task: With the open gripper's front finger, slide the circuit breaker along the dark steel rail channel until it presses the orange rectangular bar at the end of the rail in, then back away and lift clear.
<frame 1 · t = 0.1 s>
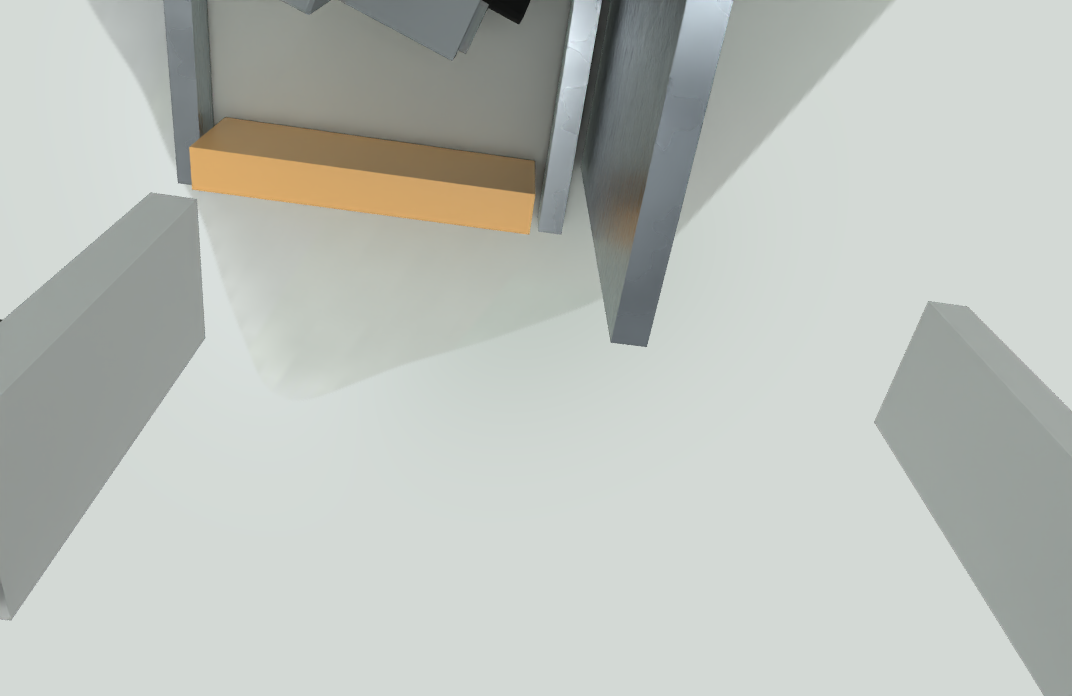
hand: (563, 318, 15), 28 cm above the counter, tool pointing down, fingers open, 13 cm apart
orange rectangular bar: (373, 174, 40), point 2 cm above the counter, slide at 0.0 cm
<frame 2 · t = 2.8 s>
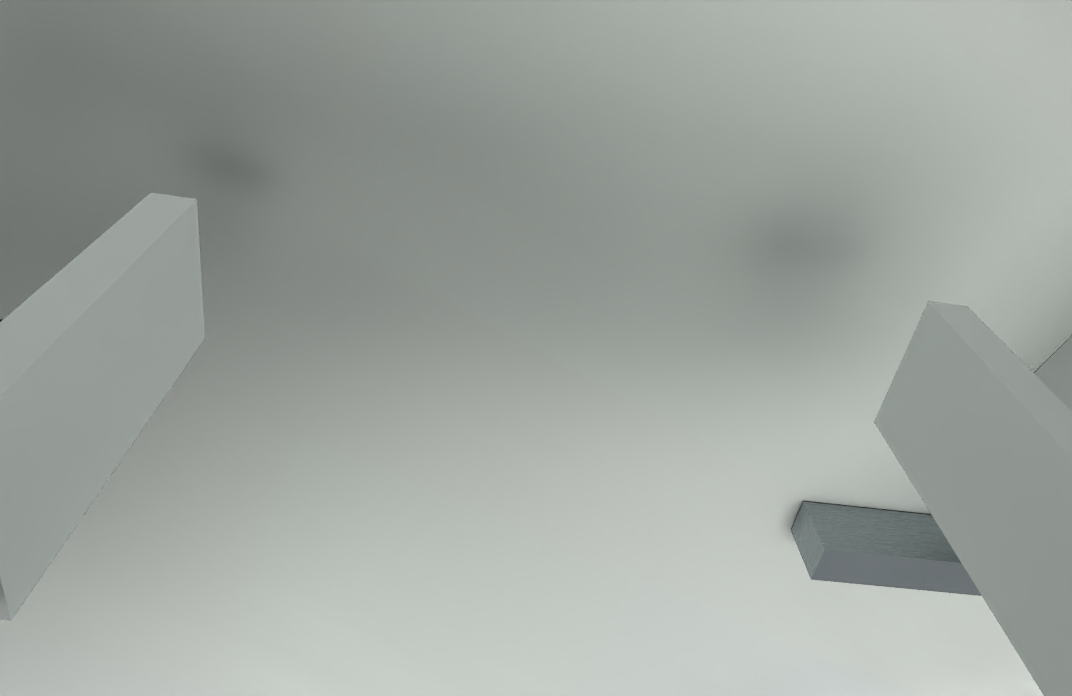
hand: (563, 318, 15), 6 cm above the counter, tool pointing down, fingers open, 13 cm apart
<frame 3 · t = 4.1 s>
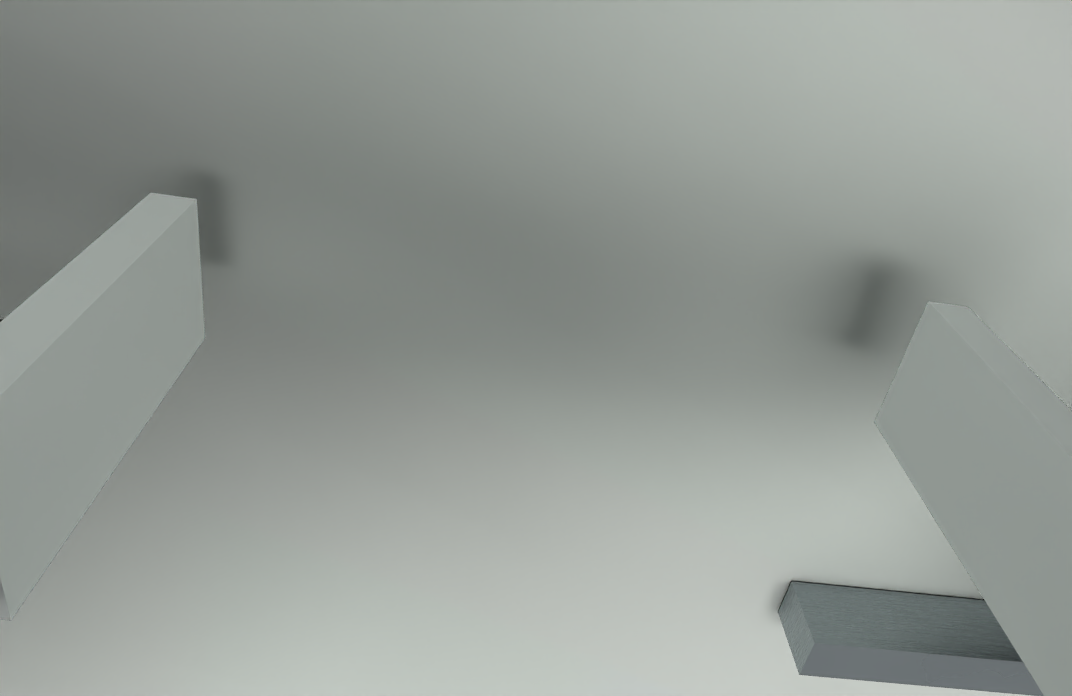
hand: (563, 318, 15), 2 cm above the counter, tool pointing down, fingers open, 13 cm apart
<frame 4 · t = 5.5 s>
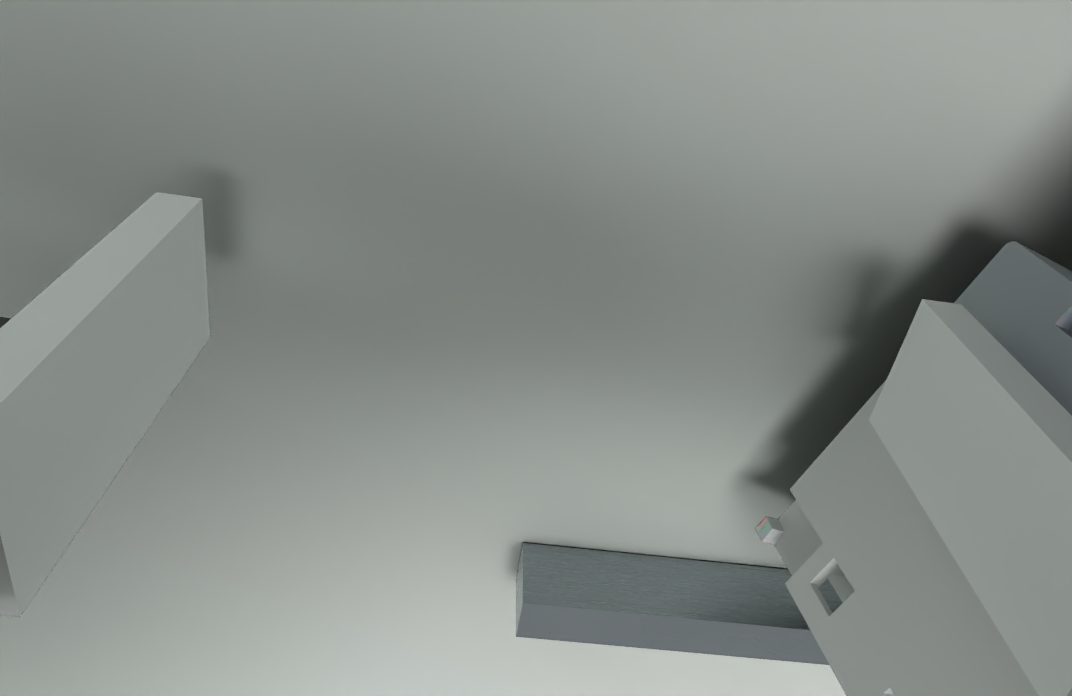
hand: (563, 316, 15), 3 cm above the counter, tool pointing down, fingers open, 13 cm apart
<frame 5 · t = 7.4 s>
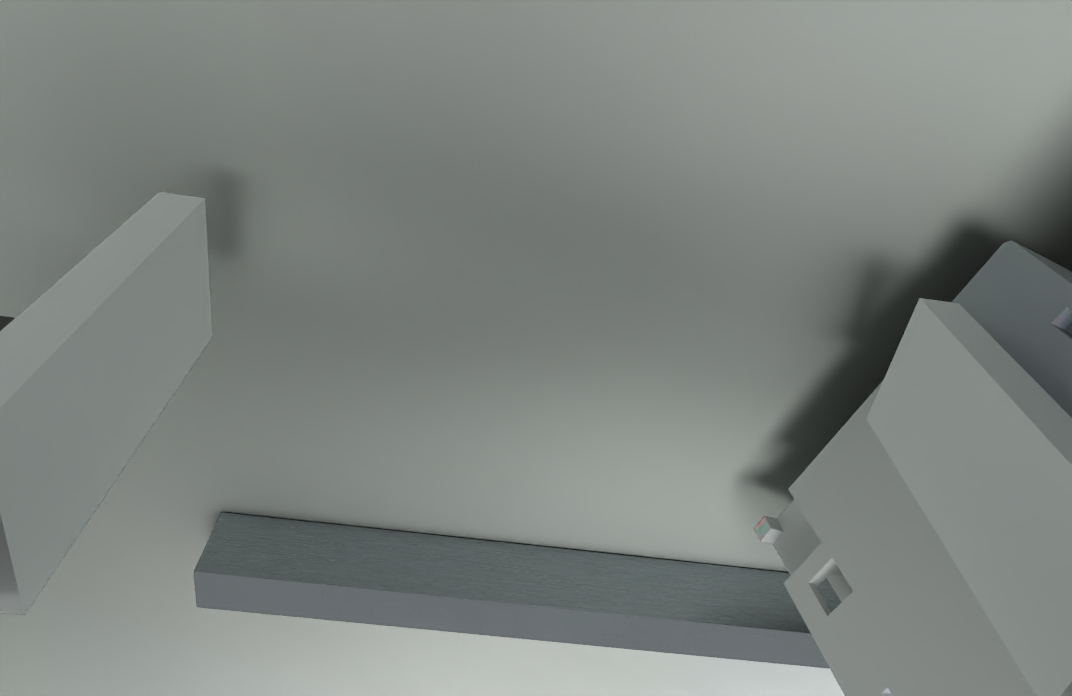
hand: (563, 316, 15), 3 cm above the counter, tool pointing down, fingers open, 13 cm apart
din rail: (800, 283, 17), on the counter
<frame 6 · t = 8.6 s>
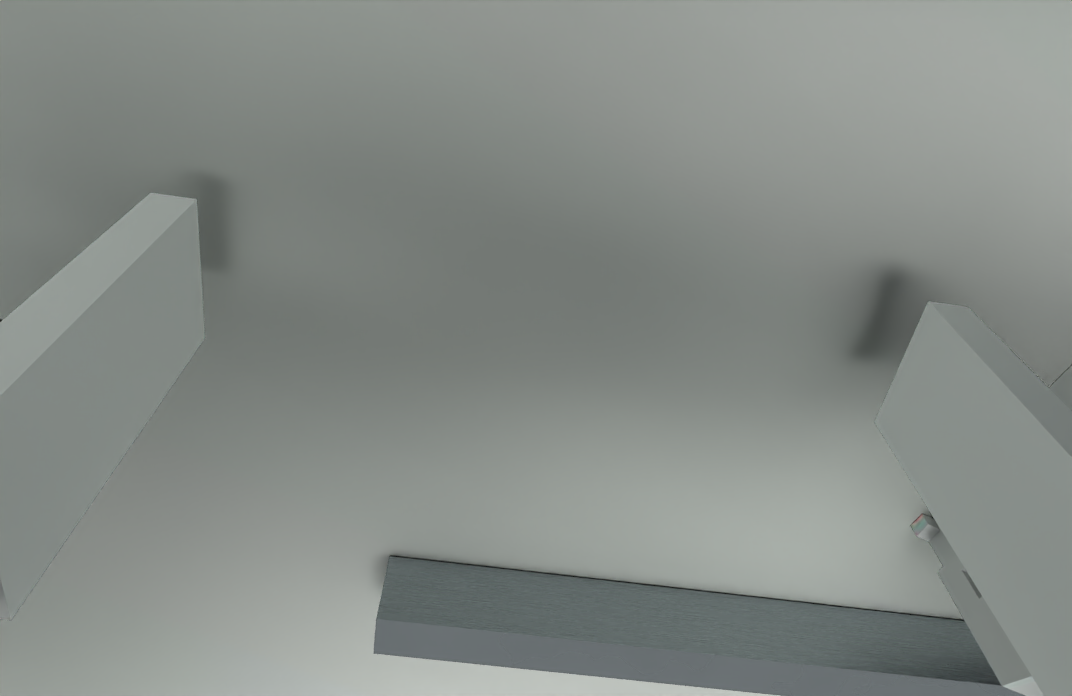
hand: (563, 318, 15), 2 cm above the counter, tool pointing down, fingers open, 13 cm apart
din rail: (1002, 337, 17), on the counter
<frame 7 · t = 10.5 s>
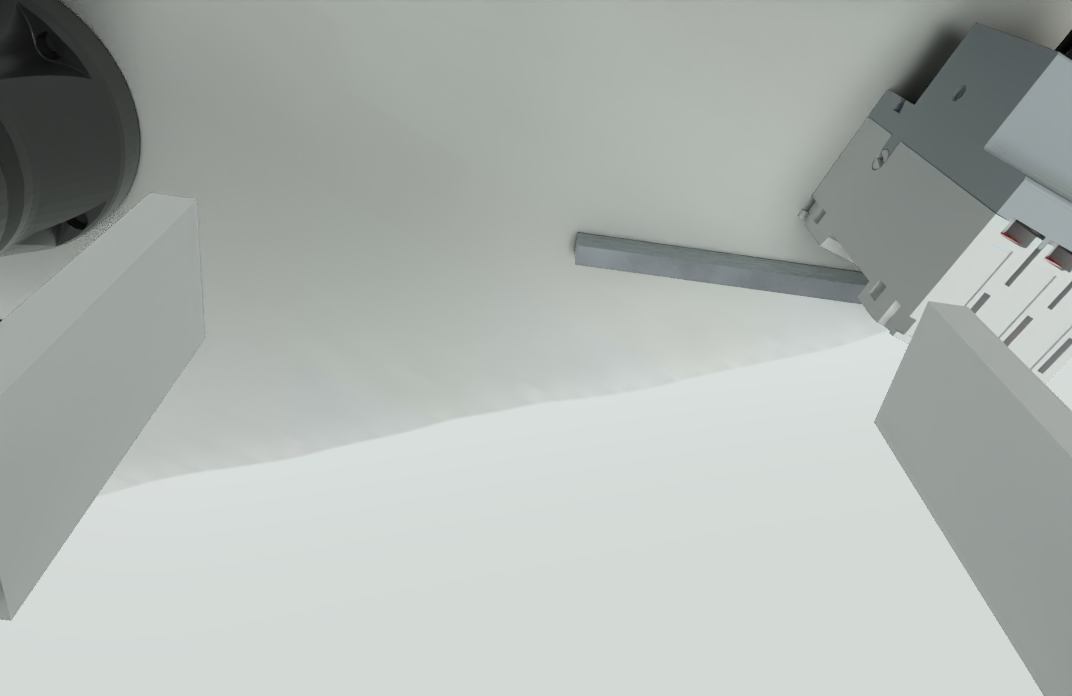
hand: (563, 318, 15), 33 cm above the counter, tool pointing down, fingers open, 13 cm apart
circuit breaker: (927, 136, 46), on the counter
din rail: (825, 123, 45), on the counter
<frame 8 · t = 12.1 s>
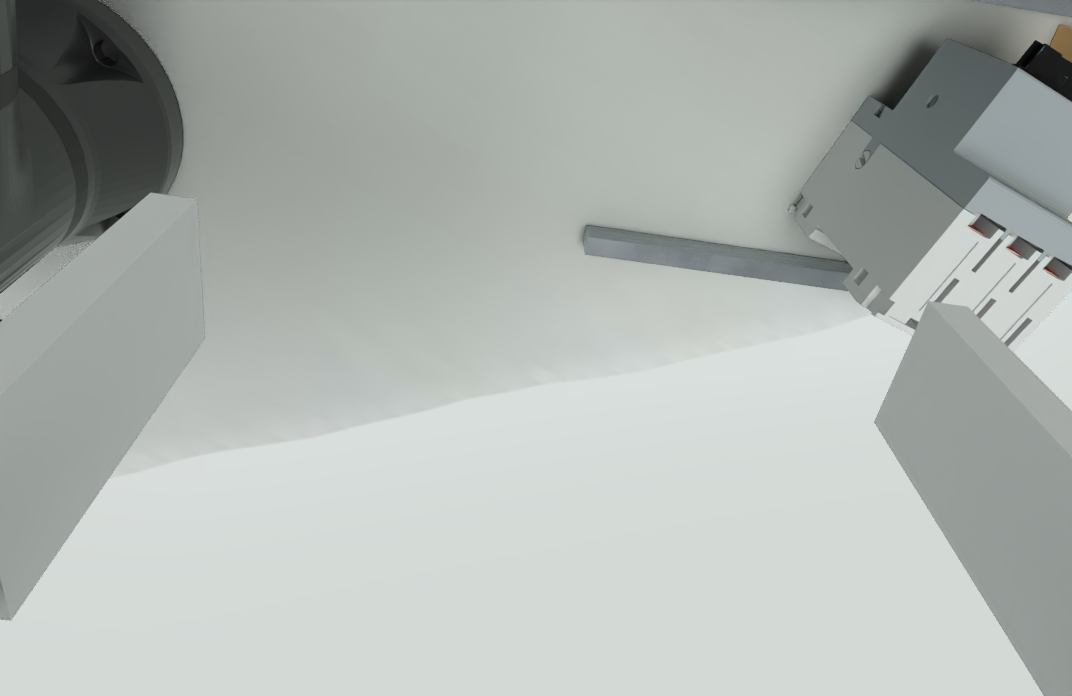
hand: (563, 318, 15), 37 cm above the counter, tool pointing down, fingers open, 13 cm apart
circuit breaker: (904, 137, 51), on the counter
orange rectangular bar: (1036, 171, 49), point 3 cm above the counter, slide at 2.7 cm
din rail: (812, 126, 50), on the counter
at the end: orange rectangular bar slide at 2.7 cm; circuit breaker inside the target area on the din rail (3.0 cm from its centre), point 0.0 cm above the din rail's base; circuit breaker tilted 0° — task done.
